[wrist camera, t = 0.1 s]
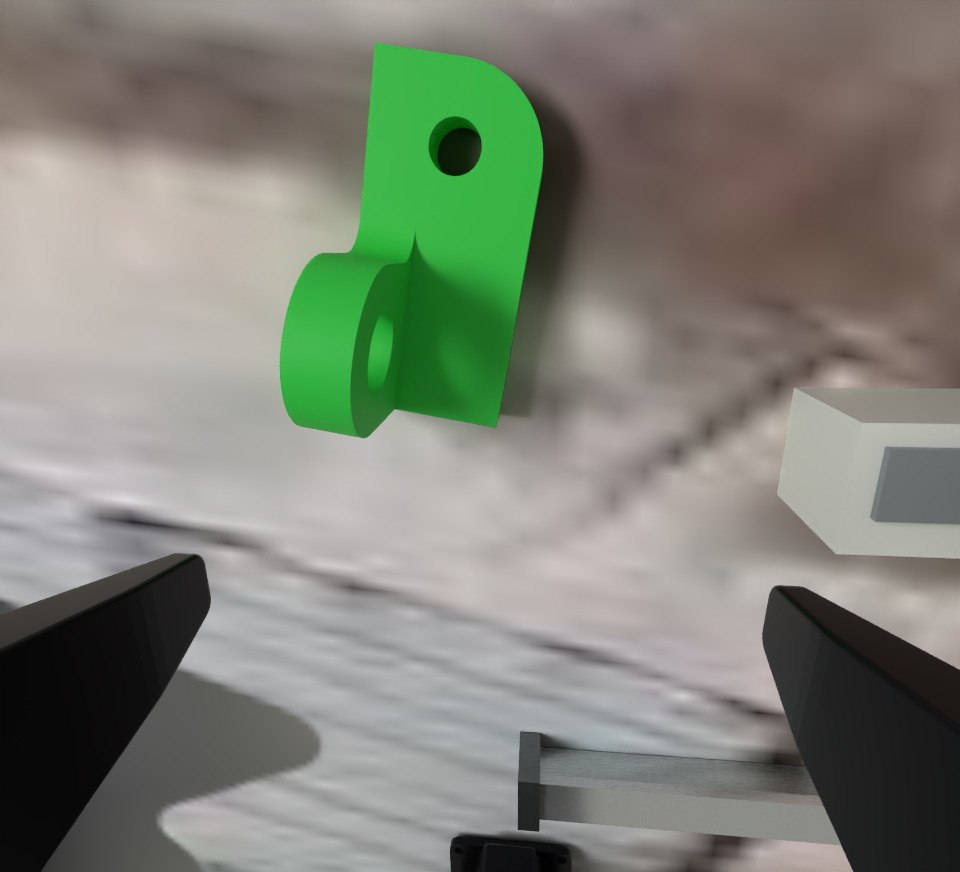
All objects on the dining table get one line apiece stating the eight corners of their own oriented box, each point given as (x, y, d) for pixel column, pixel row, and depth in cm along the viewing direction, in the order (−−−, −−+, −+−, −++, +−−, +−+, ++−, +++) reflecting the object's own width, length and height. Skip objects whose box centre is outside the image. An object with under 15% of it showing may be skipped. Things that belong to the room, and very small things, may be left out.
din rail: (890, 806, 27) (928, 866, 25) (520, 777, 29) (518, 829, 26) (903, 758, 26) (944, 815, 24) (520, 731, 28) (518, 781, 26)
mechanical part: (499, 413, 23) (480, 489, 16) (360, 387, 24) (275, 450, 16) (558, 88, 20) (569, -16, 12) (390, 62, 20) (298, -55, 12)
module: (985, 502, 22) (1113, 573, 17) (775, 496, 23) (839, 562, 18) (1017, 388, 21) (1167, 429, 16) (792, 386, 22) (867, 425, 17)
